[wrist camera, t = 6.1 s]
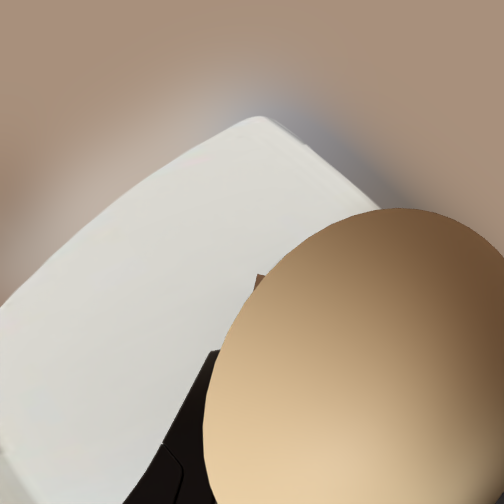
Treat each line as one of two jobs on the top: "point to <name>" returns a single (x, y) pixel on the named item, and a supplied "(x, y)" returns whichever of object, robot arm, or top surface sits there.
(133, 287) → the top surface
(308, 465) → the oak peg
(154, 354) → the top surface
